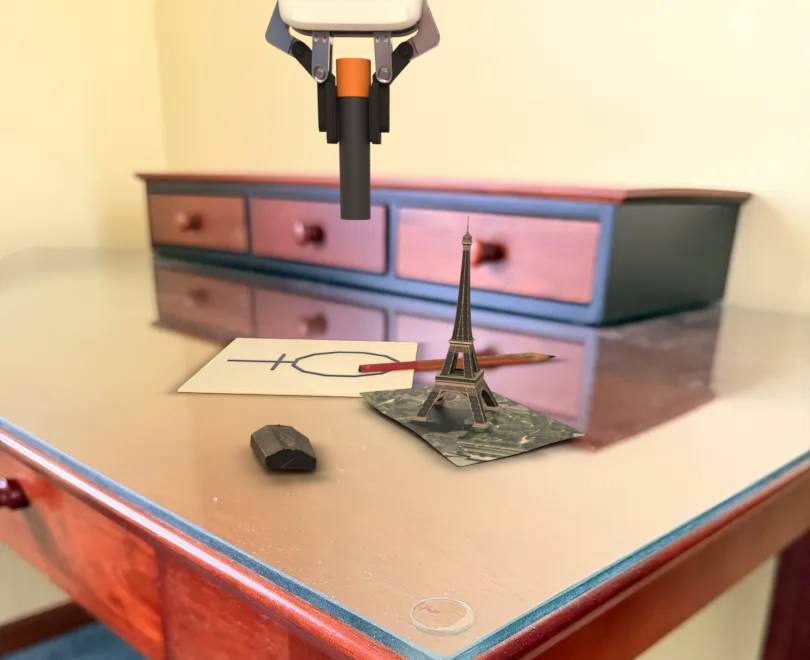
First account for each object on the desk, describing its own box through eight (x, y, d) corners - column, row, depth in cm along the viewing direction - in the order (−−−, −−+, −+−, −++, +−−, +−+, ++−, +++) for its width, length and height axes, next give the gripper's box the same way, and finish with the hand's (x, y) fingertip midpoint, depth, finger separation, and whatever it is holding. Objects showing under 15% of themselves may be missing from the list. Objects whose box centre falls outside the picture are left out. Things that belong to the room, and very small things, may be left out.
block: (263, 481, 46) (261, 451, 45) (248, 448, 51) (246, 420, 51) (326, 475, 47) (325, 445, 46) (305, 443, 52) (304, 416, 52)
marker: (337, 220, 64) (333, 57, 59) (341, 217, 66) (337, 61, 62) (370, 220, 64) (369, 57, 59) (373, 218, 66) (372, 61, 62)
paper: (177, 392, 63) (177, 388, 63) (236, 339, 81) (236, 336, 81) (410, 398, 63) (410, 394, 63) (417, 344, 81) (417, 341, 81)
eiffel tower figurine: (591, 444, 53) (619, 225, 48) (458, 467, 49) (471, 229, 43) (469, 387, 65) (480, 206, 59) (353, 401, 61) (352, 208, 55)
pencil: (360, 377, 69) (360, 366, 69) (356, 374, 70) (356, 363, 70) (558, 362, 75) (559, 352, 75) (552, 360, 76) (553, 350, 76)
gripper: (217, -181, 52) (239, 142, 60) (472, -182, 51) (461, 144, 59) (243, -142, 59) (259, 143, 66) (469, -142, 58) (459, 145, 66)
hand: (354, 141), depth 63 cm, fingers closed on marker, 2 cm apart
